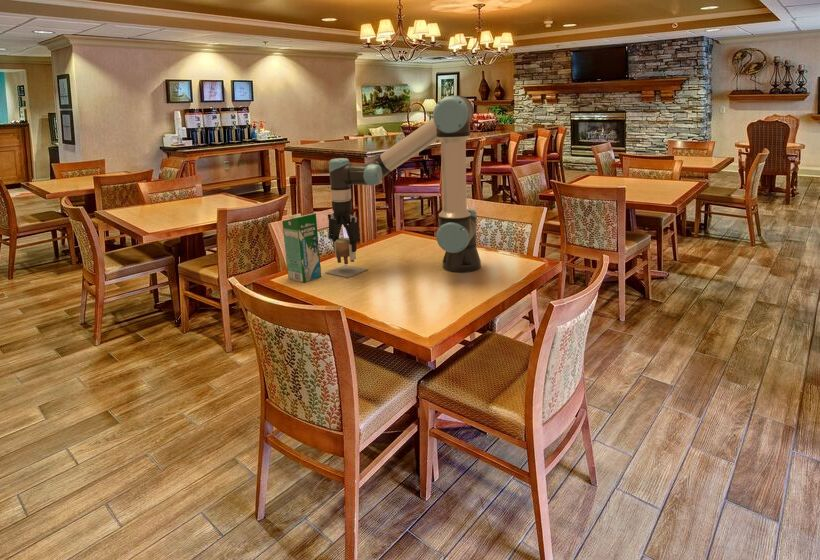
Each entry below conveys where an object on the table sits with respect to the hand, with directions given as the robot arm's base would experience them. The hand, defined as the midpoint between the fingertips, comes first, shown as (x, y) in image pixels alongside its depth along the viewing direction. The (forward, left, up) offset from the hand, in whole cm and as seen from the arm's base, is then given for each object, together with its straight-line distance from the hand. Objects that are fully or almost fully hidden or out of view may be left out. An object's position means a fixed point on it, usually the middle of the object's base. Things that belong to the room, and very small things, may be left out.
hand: (345, 258), depth 221 cm
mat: (0, 0, -6) cm, 6 cm away
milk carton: (+9, +14, -6) cm, 18 cm away
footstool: (0, 0, -2) cm, 2 cm away
